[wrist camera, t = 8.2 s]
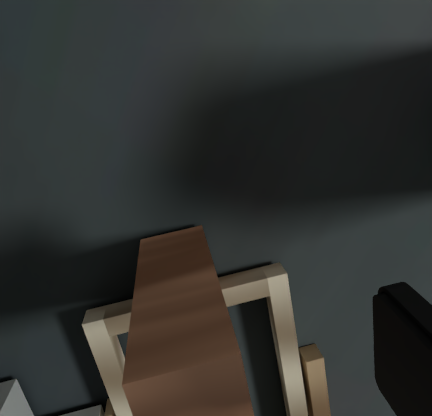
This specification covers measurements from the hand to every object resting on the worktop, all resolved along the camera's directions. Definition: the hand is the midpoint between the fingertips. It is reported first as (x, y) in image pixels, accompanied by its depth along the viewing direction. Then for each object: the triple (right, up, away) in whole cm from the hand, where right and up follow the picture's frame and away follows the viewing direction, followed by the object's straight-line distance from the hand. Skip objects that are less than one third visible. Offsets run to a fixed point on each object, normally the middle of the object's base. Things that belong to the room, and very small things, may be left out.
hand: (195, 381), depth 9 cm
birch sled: (0, -7, +12) cm, 14 cm away
